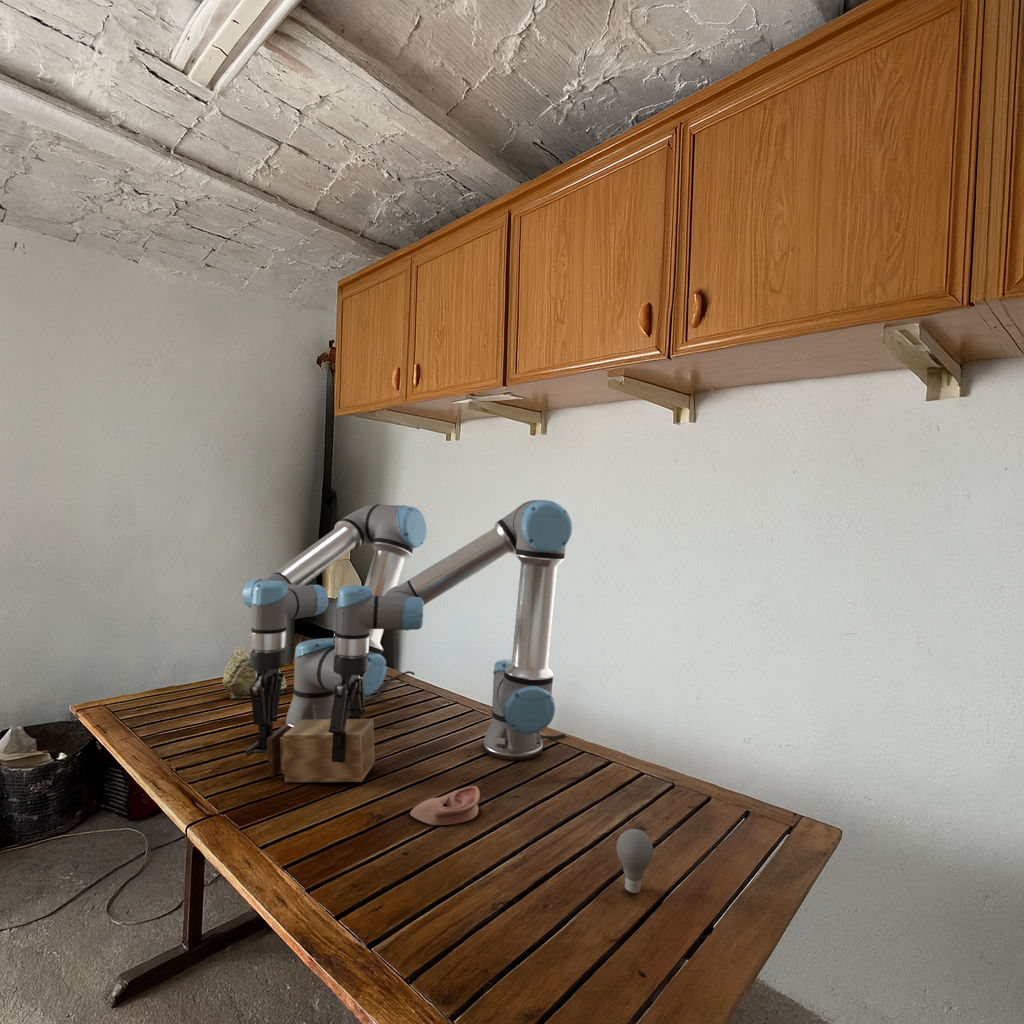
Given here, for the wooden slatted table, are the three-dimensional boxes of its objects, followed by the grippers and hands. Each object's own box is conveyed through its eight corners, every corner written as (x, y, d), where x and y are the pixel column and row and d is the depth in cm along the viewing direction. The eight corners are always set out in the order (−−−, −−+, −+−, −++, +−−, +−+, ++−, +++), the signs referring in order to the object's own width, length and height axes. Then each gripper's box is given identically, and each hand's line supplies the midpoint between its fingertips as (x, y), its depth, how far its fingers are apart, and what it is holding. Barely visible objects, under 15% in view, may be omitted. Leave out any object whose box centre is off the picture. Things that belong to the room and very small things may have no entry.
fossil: (218, 695, 195) (220, 647, 195) (278, 685, 208) (279, 640, 207) (228, 703, 189) (230, 653, 188) (289, 692, 201) (290, 645, 201)
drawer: (243, 777, 141) (241, 738, 141) (262, 760, 150) (260, 724, 150) (339, 776, 139) (338, 737, 139) (352, 760, 148) (351, 723, 148)
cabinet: (284, 782, 140) (282, 735, 140) (302, 763, 150) (301, 719, 150) (361, 781, 138) (359, 734, 138) (375, 762, 148) (373, 718, 148)
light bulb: (610, 879, 108) (613, 822, 108) (644, 879, 109) (647, 822, 109) (619, 902, 102) (622, 840, 102) (655, 901, 103) (658, 840, 103)
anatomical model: (405, 801, 125) (424, 776, 136) (404, 821, 125) (423, 795, 136) (470, 810, 122) (484, 785, 133) (469, 831, 122) (483, 803, 133)
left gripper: (264, 642, 151) (261, 740, 152) (238, 655, 138) (235, 762, 139) (295, 643, 151) (292, 741, 151) (271, 657, 138) (268, 764, 138)
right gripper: (351, 642, 155) (346, 732, 155) (316, 666, 132) (311, 771, 133) (381, 644, 154) (376, 734, 155) (351, 668, 132) (346, 774, 132)
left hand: (265, 751), depth 145 cm, fingers closed
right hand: (346, 751), depth 144 cm, fingers closed on cabinet, 10 cm apart
